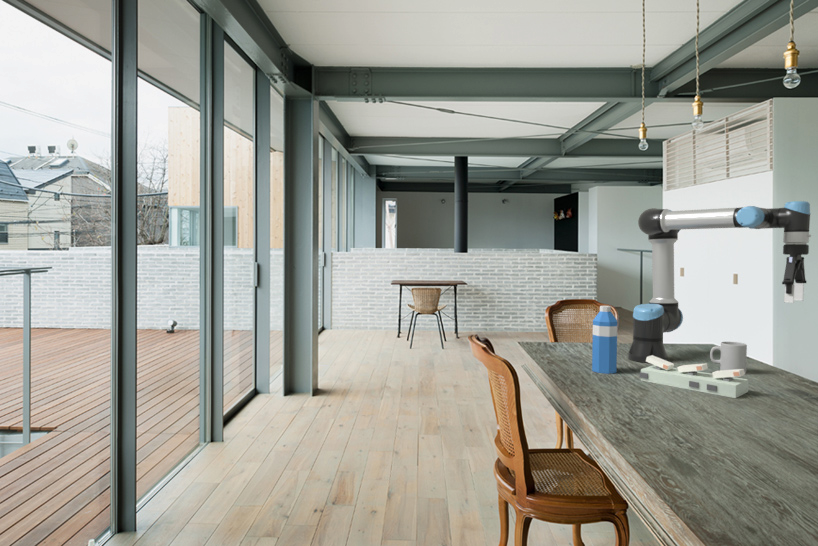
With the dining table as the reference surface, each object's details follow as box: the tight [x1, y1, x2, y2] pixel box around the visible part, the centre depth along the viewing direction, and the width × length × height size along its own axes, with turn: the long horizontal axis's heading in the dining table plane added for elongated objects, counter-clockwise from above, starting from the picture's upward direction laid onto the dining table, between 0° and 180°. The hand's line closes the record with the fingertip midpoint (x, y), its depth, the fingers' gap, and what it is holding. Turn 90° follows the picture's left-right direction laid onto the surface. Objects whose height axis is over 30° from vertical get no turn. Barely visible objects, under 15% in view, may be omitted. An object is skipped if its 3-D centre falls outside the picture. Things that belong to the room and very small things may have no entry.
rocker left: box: [645, 355, 675, 370], centre depth 186 cm, size 8×5×2 cm, turn 41°
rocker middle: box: [676, 363, 709, 372], centre depth 177 cm, size 8×4×2 cm, turn 40°
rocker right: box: [711, 369, 746, 378], centre depth 169 cm, size 8×5×2 cm, turn 40°
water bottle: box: [591, 305, 618, 375], centre depth 199 cm, size 9×9×25 cm
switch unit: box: [639, 364, 749, 399], centre depth 177 cm, size 30×12×5 cm, turn 41°
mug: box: [709, 341, 748, 375], centre depth 199 cm, size 12×8×11 cm
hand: (793, 301), depth 191 cm, fingers open, 13 cm apart
